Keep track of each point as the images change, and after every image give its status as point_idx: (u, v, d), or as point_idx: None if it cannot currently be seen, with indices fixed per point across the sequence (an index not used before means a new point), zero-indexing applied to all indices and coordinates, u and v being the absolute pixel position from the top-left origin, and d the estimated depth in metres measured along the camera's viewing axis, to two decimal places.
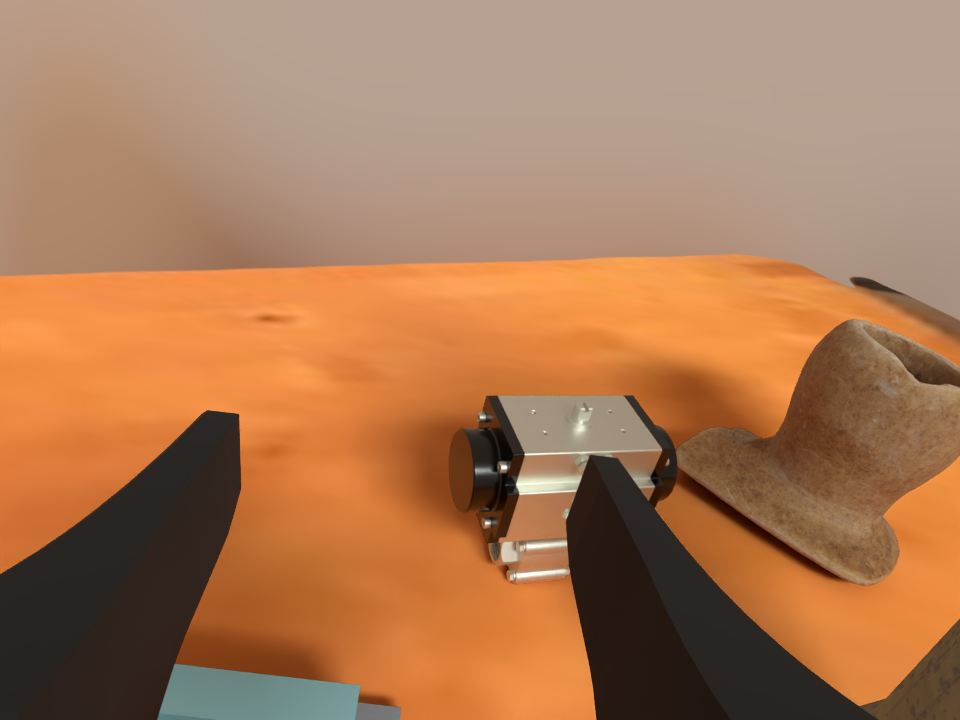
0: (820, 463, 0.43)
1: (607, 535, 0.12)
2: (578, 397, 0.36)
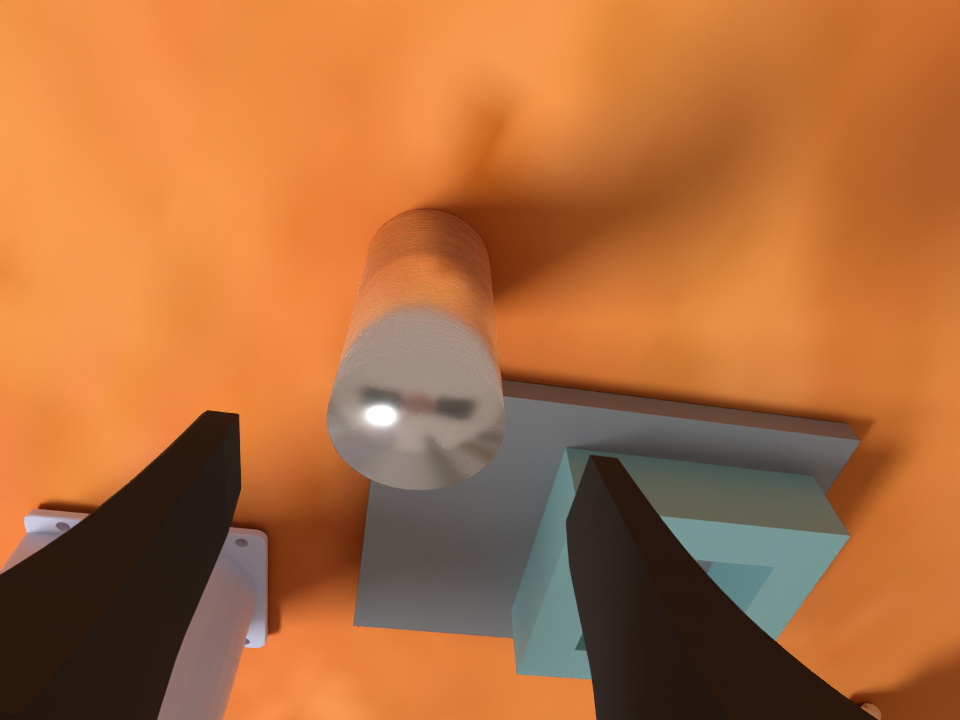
0: None
1: (607, 535, 0.12)
2: None
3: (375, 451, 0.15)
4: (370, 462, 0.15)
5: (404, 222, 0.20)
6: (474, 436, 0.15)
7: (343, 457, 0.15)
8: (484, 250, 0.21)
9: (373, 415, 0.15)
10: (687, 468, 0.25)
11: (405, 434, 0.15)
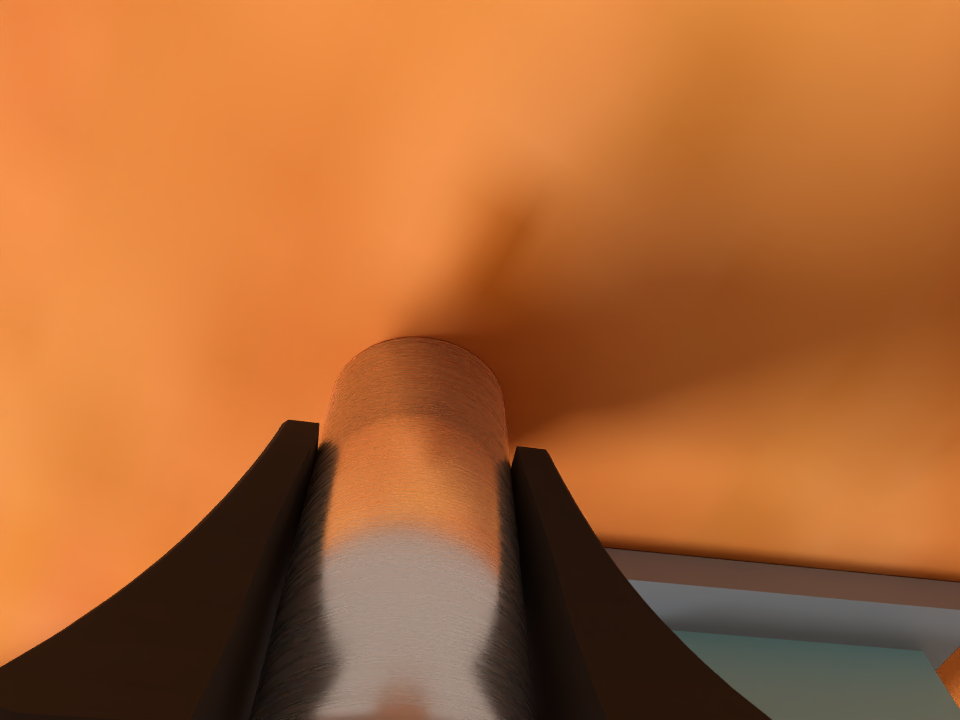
0: None
1: (525, 527, 0.12)
2: None
3: None
4: None
5: (382, 362, 0.14)
6: None
7: None
8: (497, 394, 0.14)
9: None
10: (763, 650, 0.19)
11: None
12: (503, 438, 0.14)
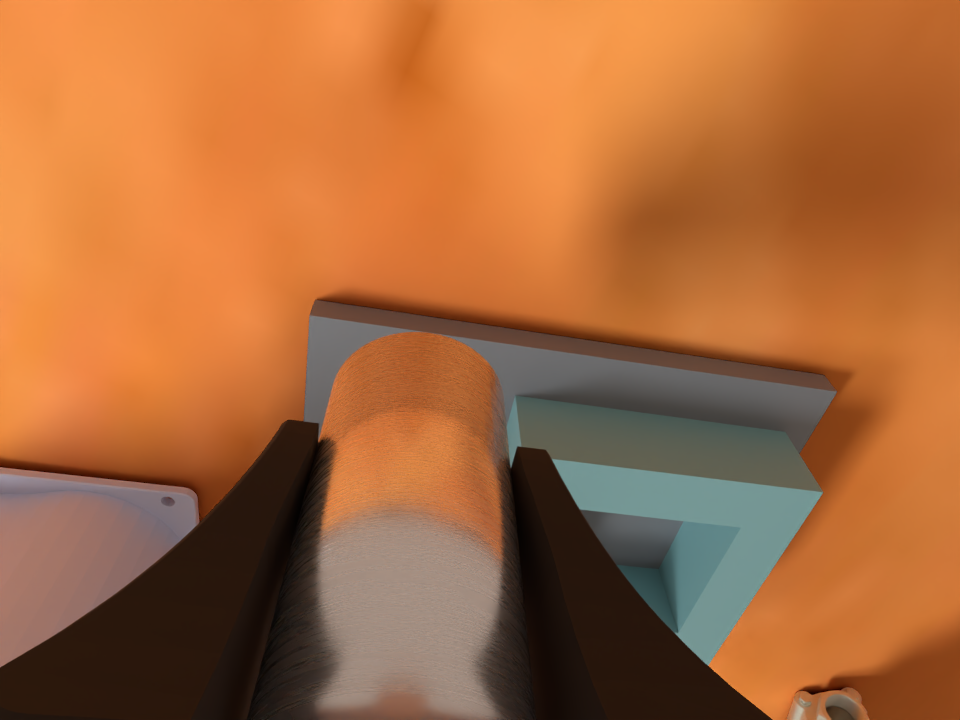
0: None
1: (526, 527, 0.12)
2: None
3: None
4: None
5: (381, 357, 0.14)
6: None
7: None
8: (496, 388, 0.14)
9: None
10: (648, 420, 0.23)
11: None
12: (502, 431, 0.14)
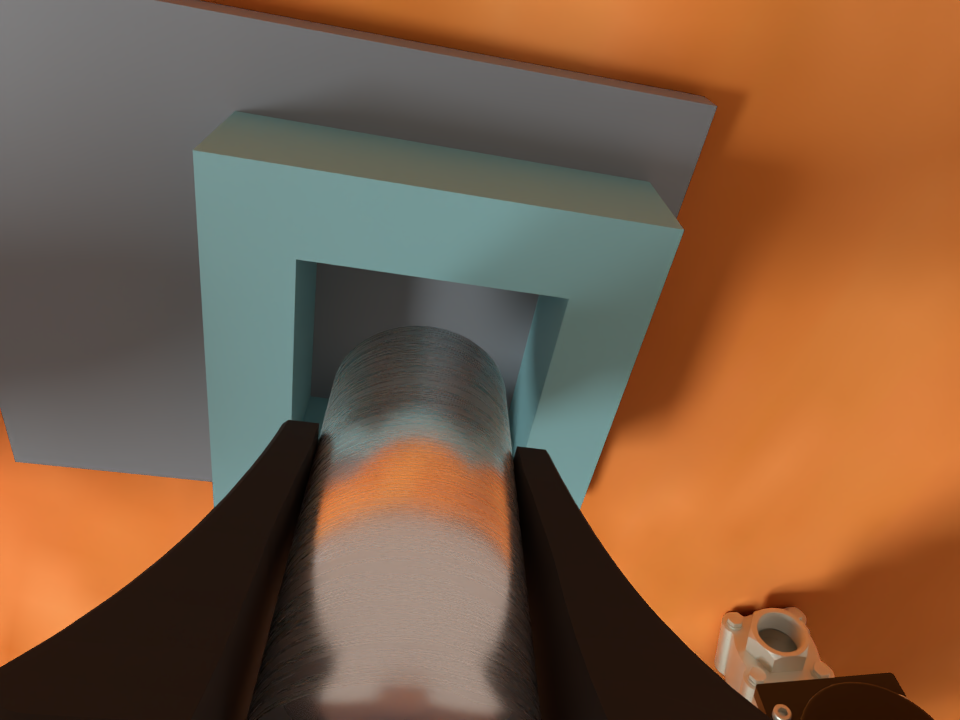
0: None
1: (526, 527, 0.12)
2: None
3: None
4: None
5: (377, 352, 0.14)
6: None
7: None
8: (496, 378, 0.14)
9: None
10: (437, 150, 0.15)
11: None
12: (502, 420, 0.13)
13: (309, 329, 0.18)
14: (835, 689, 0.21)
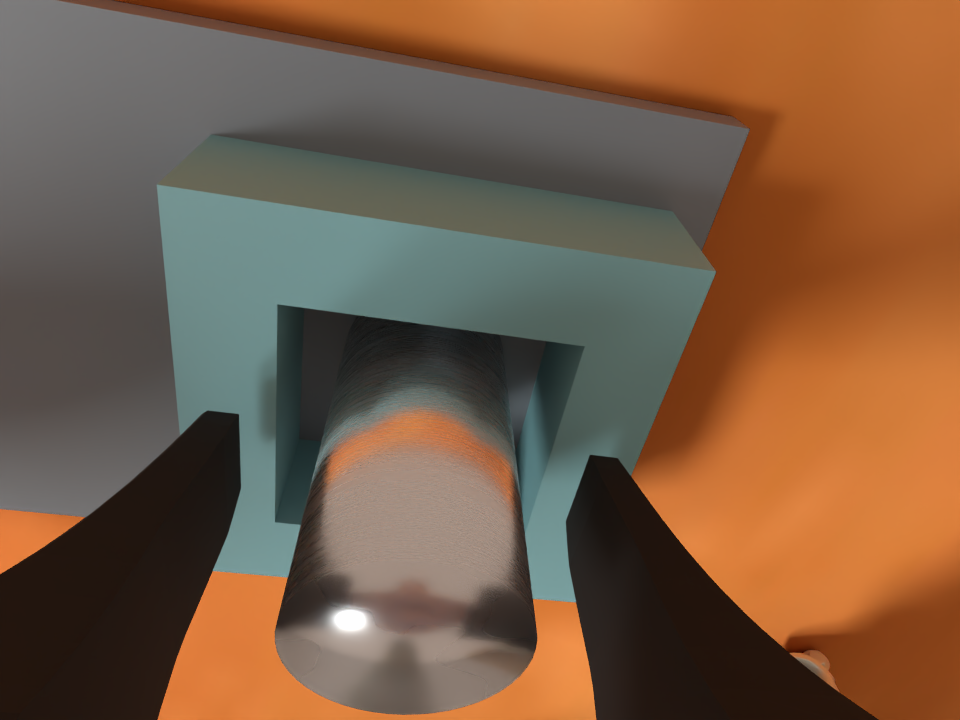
0: None
1: (606, 535, 0.12)
2: None
3: (352, 677, 0.11)
4: (347, 688, 0.11)
5: None
6: (493, 650, 0.10)
7: (308, 686, 0.11)
8: (494, 334, 0.16)
9: (341, 637, 0.10)
10: (436, 178, 0.14)
11: (392, 655, 0.10)
12: (500, 370, 0.15)
13: (296, 371, 0.16)
14: None
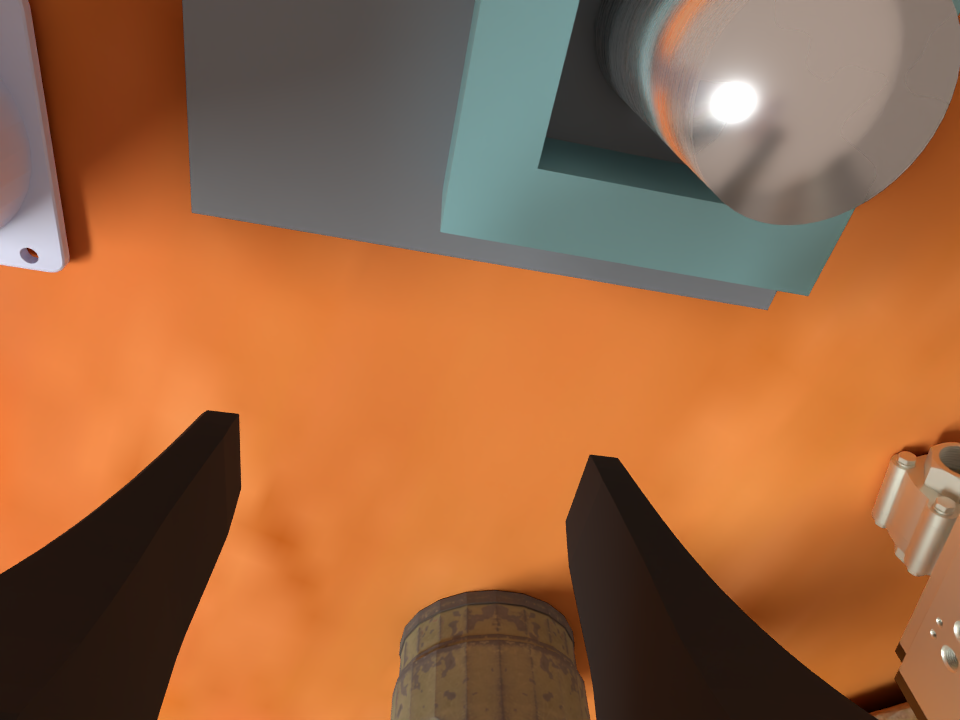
0: None
1: (607, 535, 0.12)
2: None
3: (750, 153, 0.11)
4: (738, 175, 0.11)
5: None
6: (902, 118, 0.10)
7: (701, 167, 0.11)
8: None
9: (765, 82, 0.10)
10: None
11: (801, 119, 0.10)
12: None
13: None
14: None
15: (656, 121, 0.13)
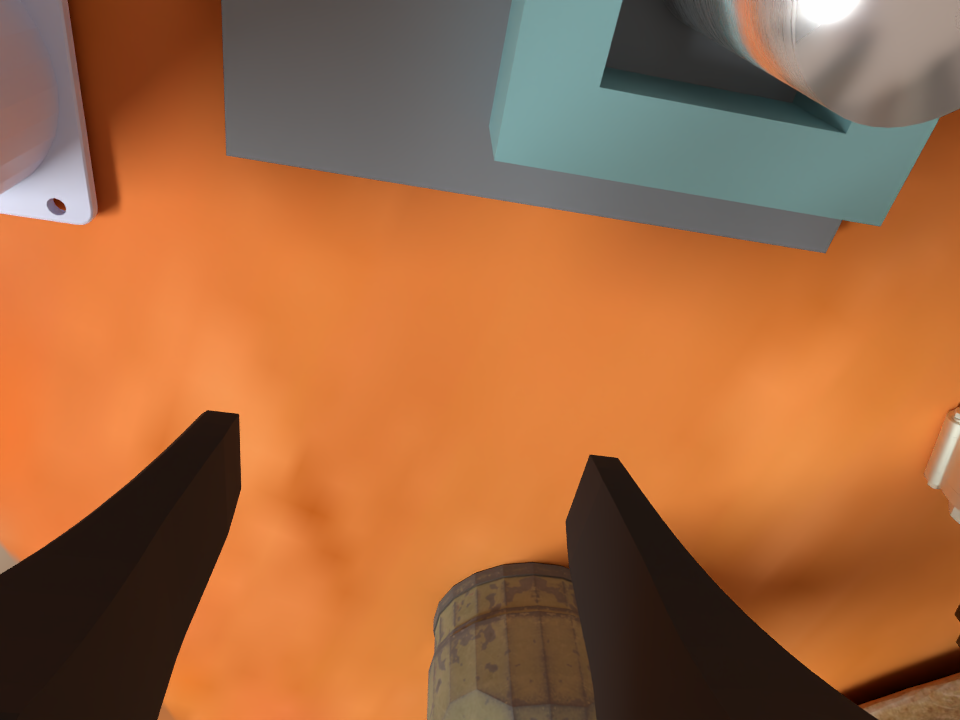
0: None
1: (607, 535, 0.12)
2: None
3: (855, 43, 0.10)
4: (839, 68, 0.10)
5: None
6: None
7: (801, 58, 0.10)
8: None
9: None
10: None
11: (914, 3, 0.09)
12: None
13: None
14: None
15: (737, 22, 0.12)
